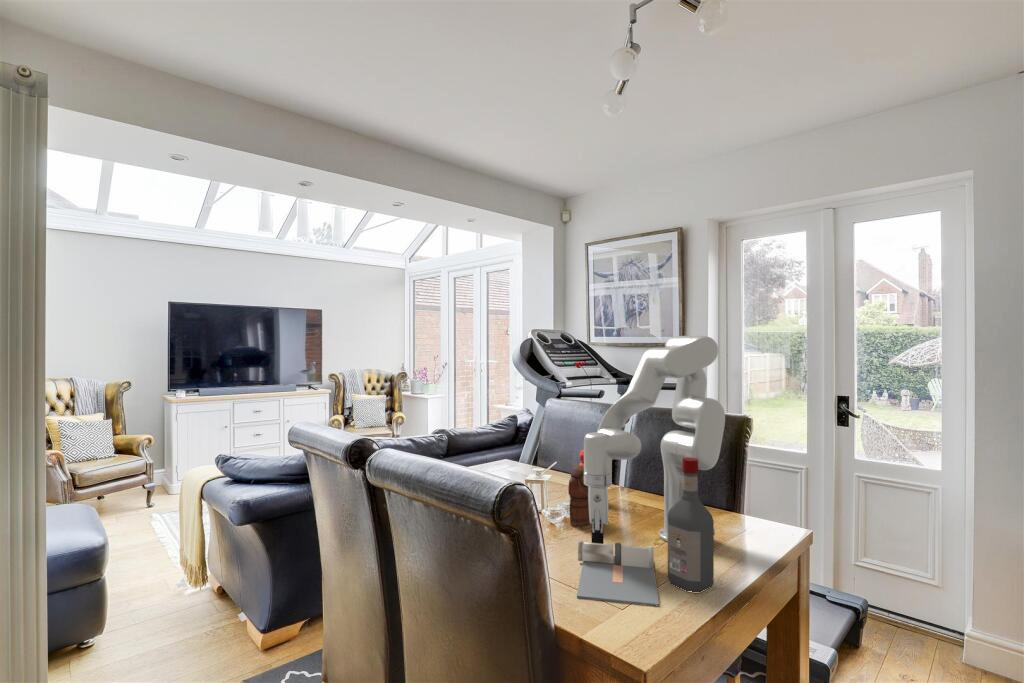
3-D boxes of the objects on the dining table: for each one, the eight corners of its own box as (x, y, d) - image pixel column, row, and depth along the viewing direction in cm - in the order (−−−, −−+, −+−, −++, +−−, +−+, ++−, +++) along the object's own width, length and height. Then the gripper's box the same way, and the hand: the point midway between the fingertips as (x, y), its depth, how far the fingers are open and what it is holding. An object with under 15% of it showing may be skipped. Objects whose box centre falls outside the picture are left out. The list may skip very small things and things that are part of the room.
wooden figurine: (586, 528, 162) (586, 471, 162) (566, 525, 164) (566, 469, 164) (595, 516, 173) (595, 462, 173) (576, 514, 175) (576, 461, 175)
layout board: (652, 561, 137) (652, 539, 137) (658, 606, 114) (658, 580, 114) (584, 555, 141) (584, 534, 141) (576, 597, 118) (576, 572, 118)
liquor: (695, 596, 119) (695, 465, 119) (662, 581, 126) (662, 458, 126) (718, 585, 124) (718, 460, 124) (685, 571, 131) (685, 453, 131)
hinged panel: (613, 561, 135) (613, 543, 135) (613, 563, 134) (613, 545, 134) (578, 558, 137) (578, 540, 137) (577, 560, 136) (577, 542, 136)
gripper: (611, 487, 133) (611, 558, 133) (611, 472, 148) (611, 536, 148) (582, 485, 135) (582, 556, 135) (585, 471, 149) (584, 535, 149)
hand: (597, 545), depth 141 cm, fingers closed
